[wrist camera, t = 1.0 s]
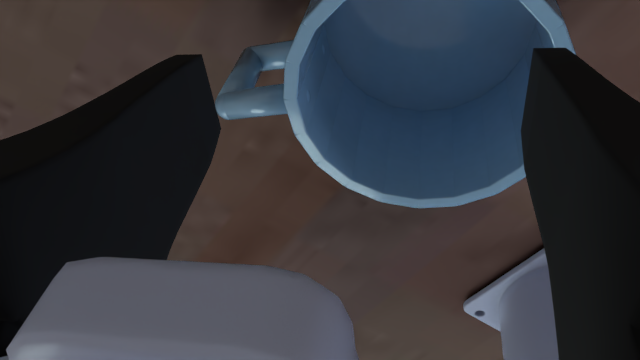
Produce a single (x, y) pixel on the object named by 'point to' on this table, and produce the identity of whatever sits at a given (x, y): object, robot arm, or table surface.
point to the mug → (405, 93)
